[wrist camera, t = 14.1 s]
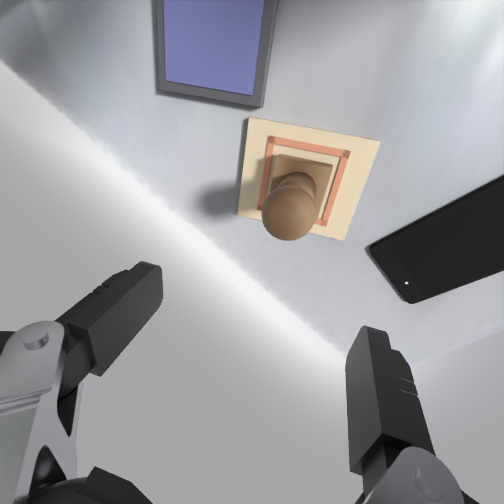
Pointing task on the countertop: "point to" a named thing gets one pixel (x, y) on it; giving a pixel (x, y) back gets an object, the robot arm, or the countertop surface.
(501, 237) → the cell phone
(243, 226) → the countertop surface
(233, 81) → the ink pad
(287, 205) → the stamp
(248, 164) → the board
